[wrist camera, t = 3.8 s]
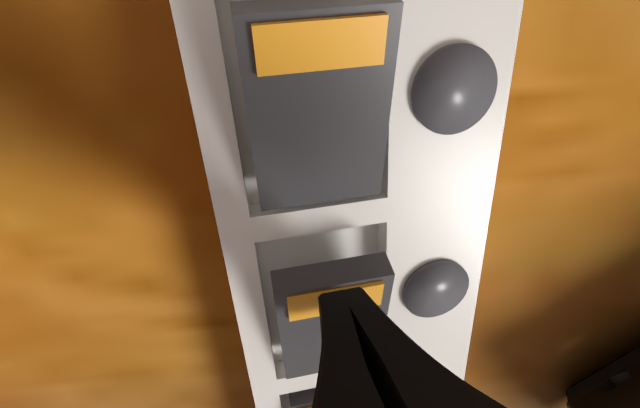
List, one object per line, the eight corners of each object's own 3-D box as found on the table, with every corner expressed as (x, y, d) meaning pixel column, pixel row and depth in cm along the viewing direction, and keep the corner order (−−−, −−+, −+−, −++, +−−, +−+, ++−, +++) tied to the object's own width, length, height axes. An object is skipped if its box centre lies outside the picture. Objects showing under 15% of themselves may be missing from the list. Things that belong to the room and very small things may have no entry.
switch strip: (431, 425, 25) (451, 469, 23) (272, 462, 24) (277, 513, 22) (490, -111, 13) (549, -136, 10) (160, -99, 11) (141, -124, 9)
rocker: (371, 175, 14) (381, 197, 13) (258, 191, 14) (261, 214, 13) (390, -10, 10) (406, 4, 9) (229, 1, 10) (231, 18, 9)
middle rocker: (371, 339, 18) (380, 363, 17) (283, 356, 17) (287, 383, 17) (385, 251, 14) (396, 278, 13) (269, 270, 13) (274, 300, 13)
